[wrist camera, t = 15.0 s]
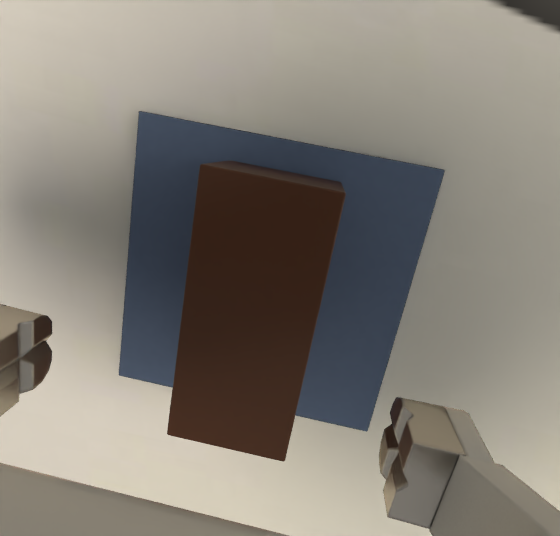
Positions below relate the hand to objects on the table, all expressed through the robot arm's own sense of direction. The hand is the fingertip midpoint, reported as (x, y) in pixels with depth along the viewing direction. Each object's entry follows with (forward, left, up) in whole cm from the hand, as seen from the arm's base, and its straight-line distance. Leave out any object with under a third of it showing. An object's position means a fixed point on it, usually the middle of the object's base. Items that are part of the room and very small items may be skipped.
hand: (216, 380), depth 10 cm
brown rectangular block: (+1, 0, -8) cm, 8 cm away
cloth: (+1, 0, -9) cm, 9 cm away
